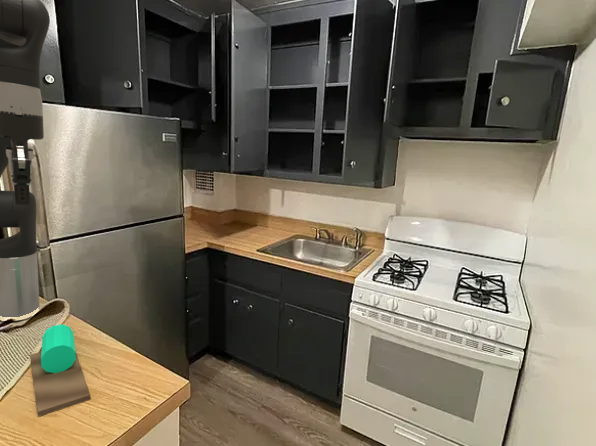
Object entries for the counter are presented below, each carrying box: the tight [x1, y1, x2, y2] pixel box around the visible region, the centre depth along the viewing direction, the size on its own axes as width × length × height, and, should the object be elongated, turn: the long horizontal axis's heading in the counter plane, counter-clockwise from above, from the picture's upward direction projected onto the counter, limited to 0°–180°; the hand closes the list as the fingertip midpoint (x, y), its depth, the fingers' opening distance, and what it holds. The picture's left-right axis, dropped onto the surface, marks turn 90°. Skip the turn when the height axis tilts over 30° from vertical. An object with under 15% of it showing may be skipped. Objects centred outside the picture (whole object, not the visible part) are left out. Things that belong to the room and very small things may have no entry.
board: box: [29, 351, 91, 417], centre depth 70 cm, size 20×8×1 cm, turn 40°
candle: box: [40, 323, 77, 373], centre depth 75 cm, size 6×6×12 cm
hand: (22, 203), depth 67 cm, fingers closed
